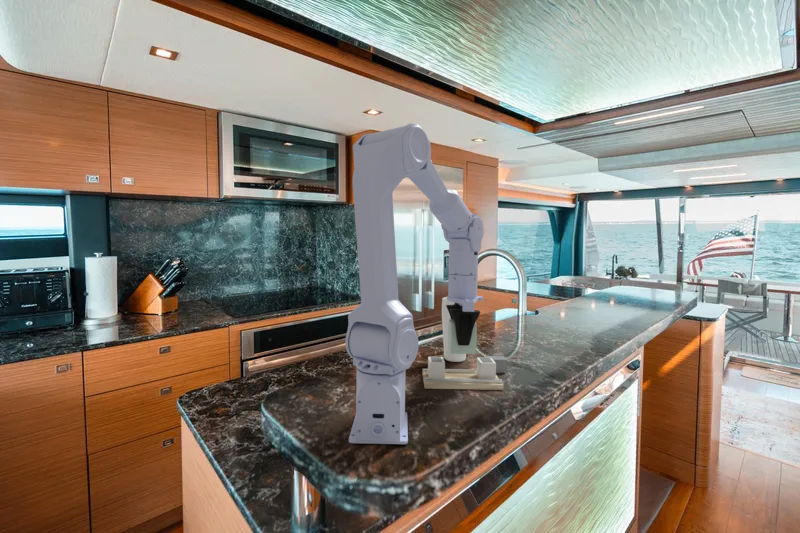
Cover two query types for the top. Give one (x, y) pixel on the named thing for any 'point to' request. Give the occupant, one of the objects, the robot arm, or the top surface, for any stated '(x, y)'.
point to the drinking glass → (445, 326)
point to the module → (453, 343)
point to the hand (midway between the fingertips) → (461, 342)
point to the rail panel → (461, 385)
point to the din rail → (461, 380)
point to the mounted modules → (483, 370)
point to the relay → (500, 363)
